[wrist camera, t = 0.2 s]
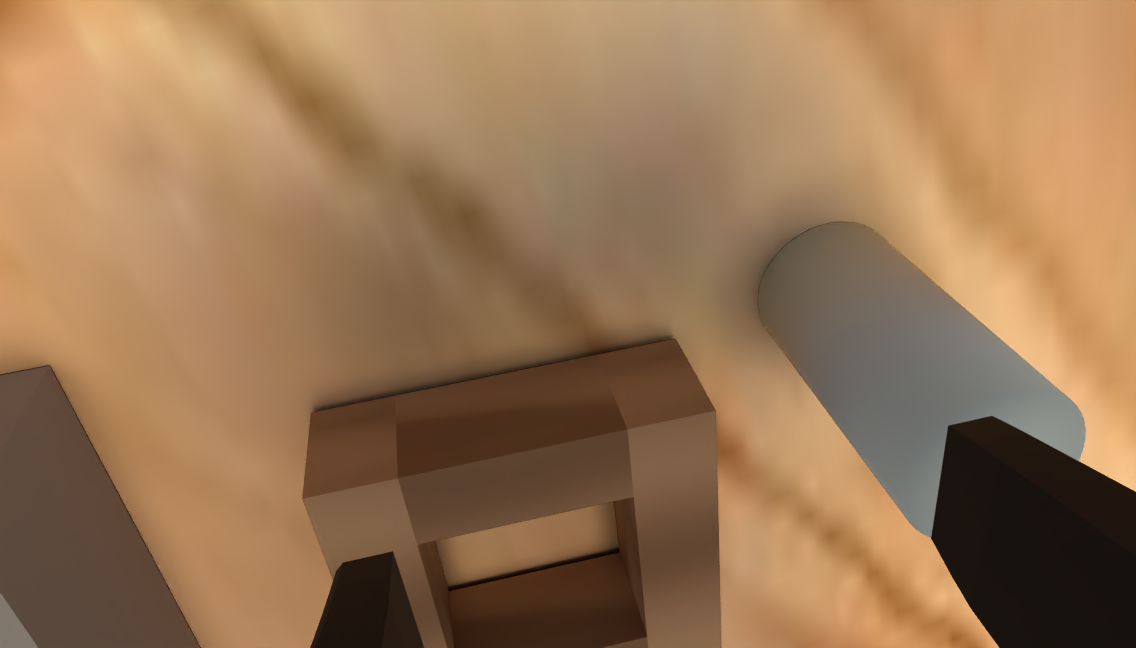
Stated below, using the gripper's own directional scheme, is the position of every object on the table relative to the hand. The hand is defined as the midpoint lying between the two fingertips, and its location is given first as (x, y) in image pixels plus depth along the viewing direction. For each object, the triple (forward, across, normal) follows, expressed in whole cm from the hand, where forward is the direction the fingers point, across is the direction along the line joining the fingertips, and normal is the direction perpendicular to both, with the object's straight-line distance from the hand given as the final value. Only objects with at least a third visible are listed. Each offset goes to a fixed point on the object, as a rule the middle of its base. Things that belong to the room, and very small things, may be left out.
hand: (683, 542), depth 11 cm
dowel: (+10, -7, +3) cm, 12 cm away
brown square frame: (+10, +2, +8) cm, 13 cm away
